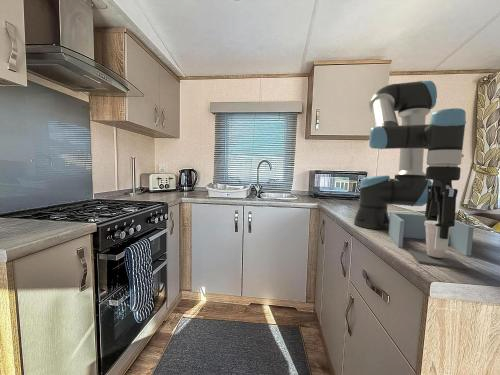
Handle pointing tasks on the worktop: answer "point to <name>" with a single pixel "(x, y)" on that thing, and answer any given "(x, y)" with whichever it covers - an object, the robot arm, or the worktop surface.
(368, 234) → the worktop surface
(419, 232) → the open frame
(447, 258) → the mat
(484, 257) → the worktop surface
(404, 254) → the worktop surface
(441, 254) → the smoothie
